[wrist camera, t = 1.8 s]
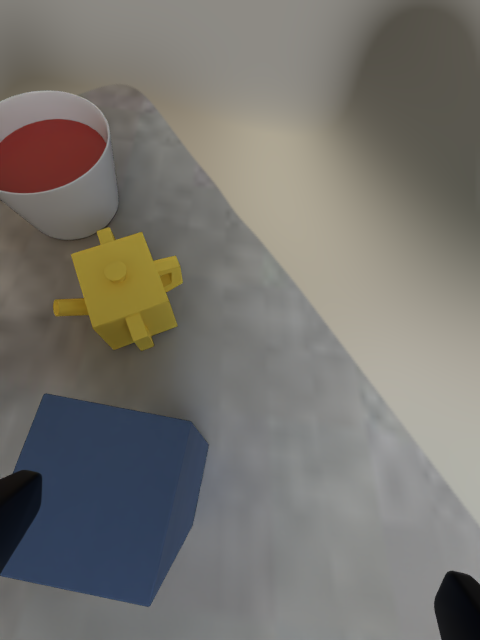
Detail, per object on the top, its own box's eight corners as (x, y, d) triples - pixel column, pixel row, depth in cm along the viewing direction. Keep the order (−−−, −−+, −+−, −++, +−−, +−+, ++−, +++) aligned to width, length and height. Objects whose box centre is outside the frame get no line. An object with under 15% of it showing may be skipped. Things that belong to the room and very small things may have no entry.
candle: (85, 146, 31) (52, 72, 25) (156, 204, 29) (138, 138, 23) (-7, 206, 28) (-68, 138, 22) (64, 275, 26) (18, 220, 20)
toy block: (62, 283, 26) (21, 238, 21) (167, 248, 27) (153, 199, 22) (90, 384, 23) (51, 361, 18) (204, 339, 24) (199, 307, 19)
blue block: (192, 526, 20) (150, 608, 9) (115, 510, 20) (-27, 571, 9) (209, 444, 22) (191, 421, 10) (138, 430, 22) (43, 392, 10)
